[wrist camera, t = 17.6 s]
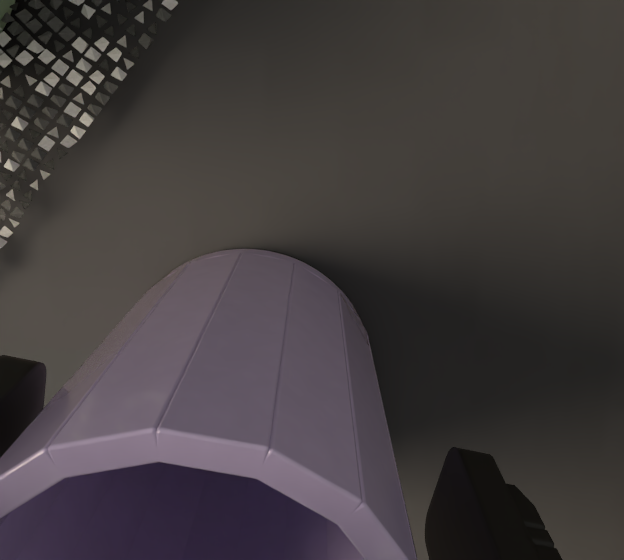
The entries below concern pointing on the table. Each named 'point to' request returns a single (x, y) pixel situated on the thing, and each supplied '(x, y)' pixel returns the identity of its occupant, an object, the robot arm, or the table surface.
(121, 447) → the lavender cup
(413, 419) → the table surface
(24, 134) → the table surface
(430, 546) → the robot arm
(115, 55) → the rug
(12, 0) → the sage cup
